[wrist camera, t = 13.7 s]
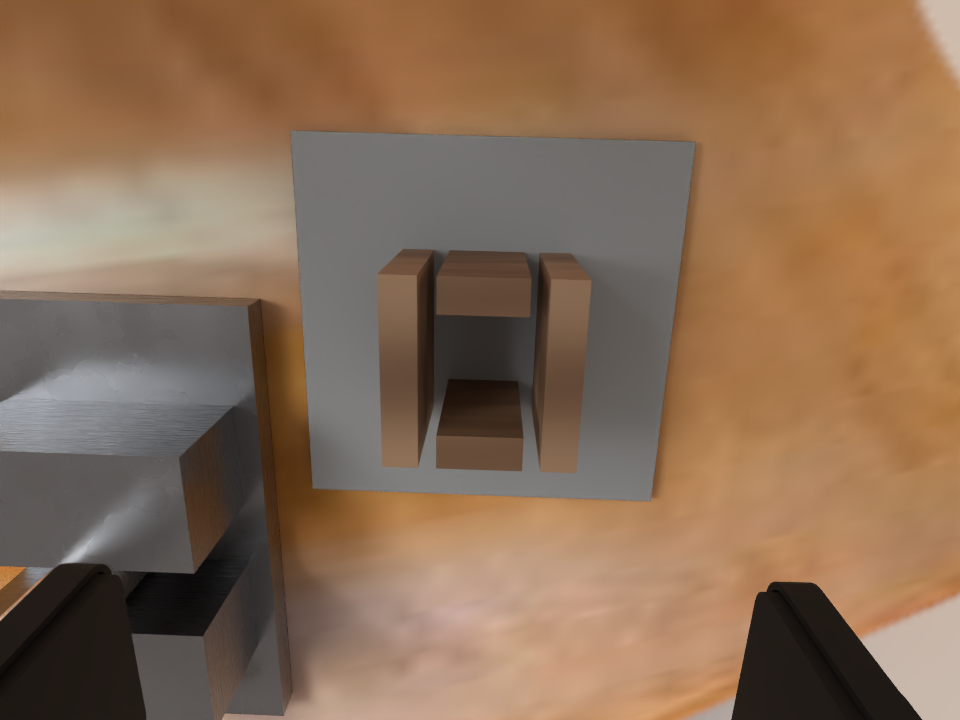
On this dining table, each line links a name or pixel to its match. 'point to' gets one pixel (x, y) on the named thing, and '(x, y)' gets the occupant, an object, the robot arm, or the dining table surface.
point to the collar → (481, 403)
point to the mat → (490, 339)
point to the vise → (151, 483)
